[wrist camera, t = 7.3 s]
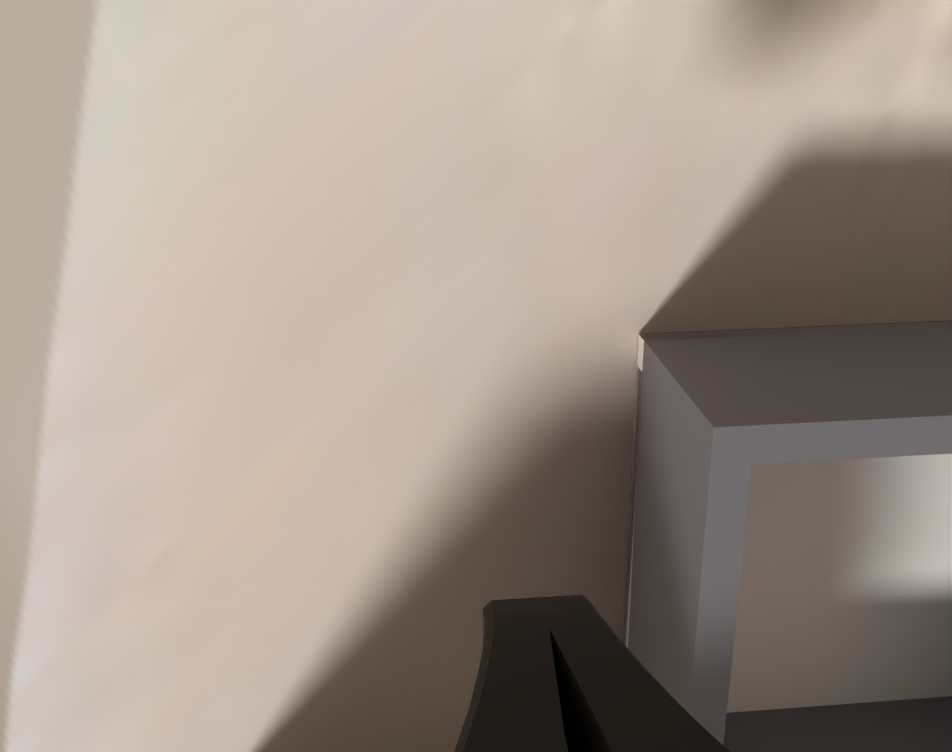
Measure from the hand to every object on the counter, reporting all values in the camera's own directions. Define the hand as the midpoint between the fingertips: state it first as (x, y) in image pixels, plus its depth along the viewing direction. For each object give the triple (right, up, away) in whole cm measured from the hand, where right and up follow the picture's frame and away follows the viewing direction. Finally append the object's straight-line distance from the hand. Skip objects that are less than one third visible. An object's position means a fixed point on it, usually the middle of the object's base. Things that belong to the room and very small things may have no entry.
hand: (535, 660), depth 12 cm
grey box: (+9, -1, +12) cm, 15 cm away
